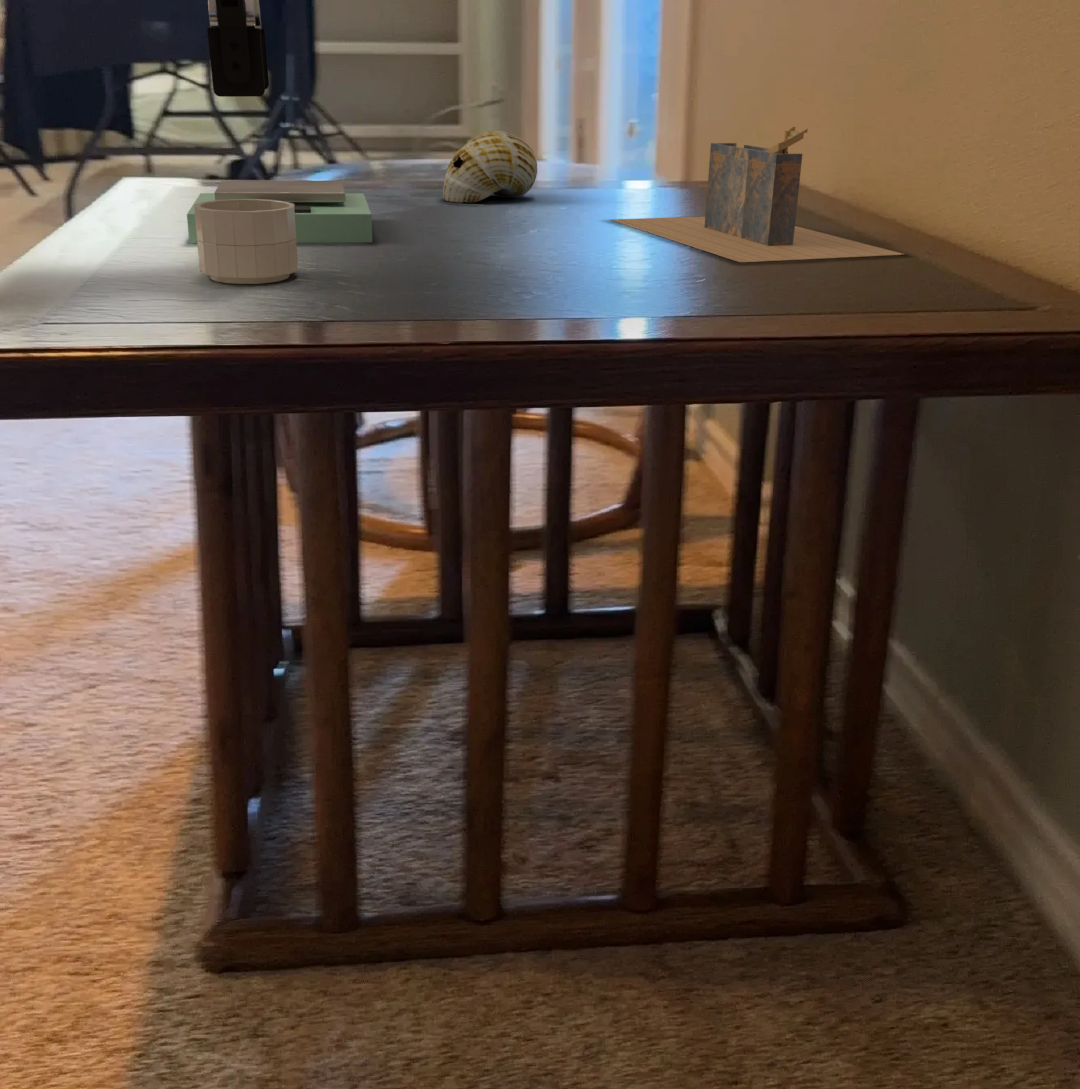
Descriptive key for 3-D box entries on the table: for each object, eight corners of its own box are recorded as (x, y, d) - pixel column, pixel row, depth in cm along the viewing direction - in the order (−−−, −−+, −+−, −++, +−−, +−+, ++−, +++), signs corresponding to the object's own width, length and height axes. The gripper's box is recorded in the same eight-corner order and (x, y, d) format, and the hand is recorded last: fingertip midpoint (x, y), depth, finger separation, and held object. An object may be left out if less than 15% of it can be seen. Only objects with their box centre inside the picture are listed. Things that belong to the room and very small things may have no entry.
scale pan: (215, 202, 100) (214, 192, 100) (221, 189, 108) (220, 180, 108) (345, 202, 102) (345, 192, 102) (342, 189, 110) (342, 181, 110)
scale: (189, 243, 97) (186, 210, 96) (202, 219, 110) (200, 189, 108) (372, 242, 100) (371, 209, 98) (364, 219, 112) (363, 190, 111)
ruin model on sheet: (906, 254, 101) (923, 134, 97) (740, 262, 95) (751, 135, 91) (753, 215, 122) (762, 115, 118) (609, 219, 116) (614, 114, 112)
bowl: (197, 286, 81) (190, 211, 79) (204, 268, 87) (198, 198, 85) (298, 285, 82) (293, 211, 80) (298, 267, 88) (294, 199, 86)
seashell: (435, 196, 123) (437, 104, 124) (450, 228, 133) (451, 142, 134) (532, 194, 122) (533, 101, 123) (539, 227, 132) (540, 140, 133)
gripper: (168, -182, 80) (196, 87, 87) (136, -234, 64) (173, 99, 71) (281, -178, 81) (300, 87, 88) (275, -228, 66) (299, 99, 72)
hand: (243, 92), depth 80 cm, fingers open, 9 cm apart
